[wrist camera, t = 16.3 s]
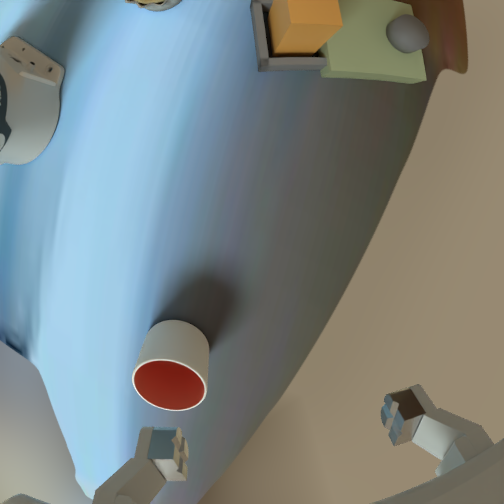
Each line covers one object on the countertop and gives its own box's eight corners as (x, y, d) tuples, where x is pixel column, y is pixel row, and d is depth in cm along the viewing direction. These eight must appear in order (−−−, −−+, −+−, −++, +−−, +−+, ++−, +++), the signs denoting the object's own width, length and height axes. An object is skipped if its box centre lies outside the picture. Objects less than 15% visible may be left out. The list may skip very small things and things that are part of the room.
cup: (136, 345, 45) (120, 388, 35) (166, 304, 43) (153, 345, 33) (187, 375, 48) (182, 420, 38) (222, 338, 45) (222, 383, 36)
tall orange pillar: (310, 56, 33) (343, 25, 21) (272, 57, 32) (291, 23, 21) (304, 18, 31) (332, -22, 19) (267, 18, 30) (282, -26, 19)
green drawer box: (411, 83, 34) (439, 77, 28) (259, 79, 33) (266, 65, 27) (397, 13, 30) (421, -2, 23) (249, 1, 29) (253, -24, 23)
